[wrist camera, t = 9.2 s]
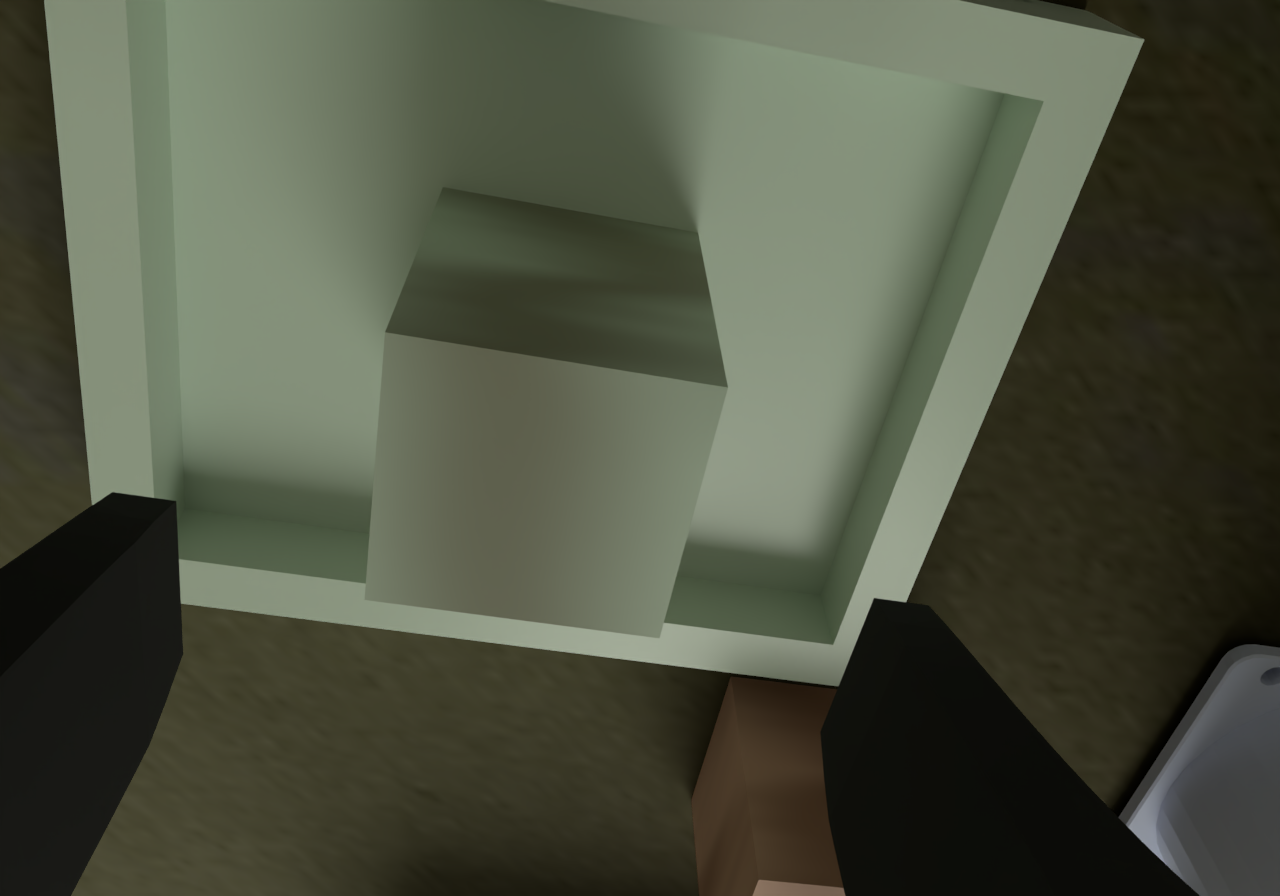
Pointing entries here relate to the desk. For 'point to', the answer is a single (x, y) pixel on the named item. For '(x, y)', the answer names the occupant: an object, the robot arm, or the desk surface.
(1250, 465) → the desk surface
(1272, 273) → the desk surface
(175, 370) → the sage tray
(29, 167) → the desk surface
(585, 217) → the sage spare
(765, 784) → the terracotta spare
